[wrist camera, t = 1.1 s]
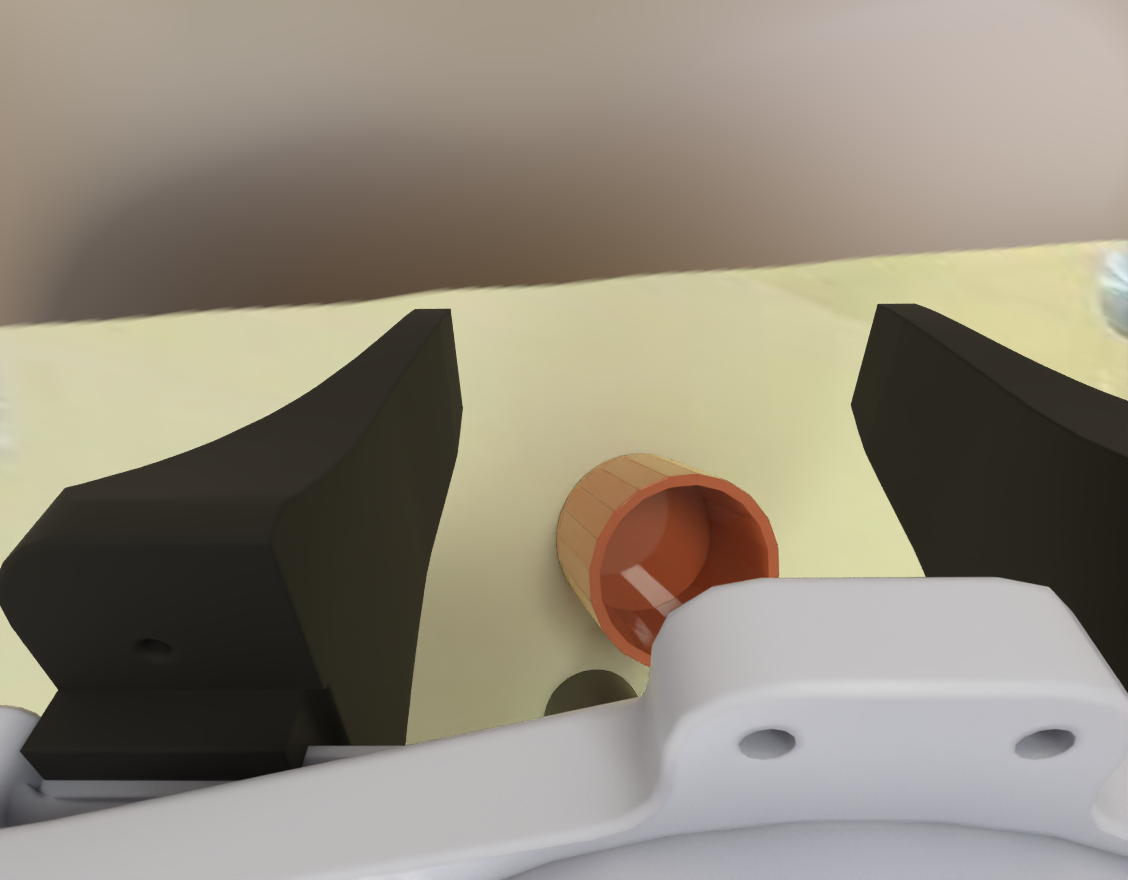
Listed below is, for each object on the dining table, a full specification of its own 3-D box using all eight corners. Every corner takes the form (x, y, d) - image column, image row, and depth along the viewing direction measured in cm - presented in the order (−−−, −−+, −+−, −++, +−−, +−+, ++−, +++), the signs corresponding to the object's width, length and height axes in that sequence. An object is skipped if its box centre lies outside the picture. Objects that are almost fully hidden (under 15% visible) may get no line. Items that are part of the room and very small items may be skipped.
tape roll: (641, 754, 40) (670, 803, 35) (547, 771, 39) (565, 824, 34) (636, 662, 39) (666, 701, 35) (540, 677, 38) (558, 719, 34)
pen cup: (717, 603, 40) (781, 654, 33) (561, 625, 38) (596, 684, 31) (710, 446, 39) (776, 465, 32) (550, 461, 37) (583, 485, 30)
